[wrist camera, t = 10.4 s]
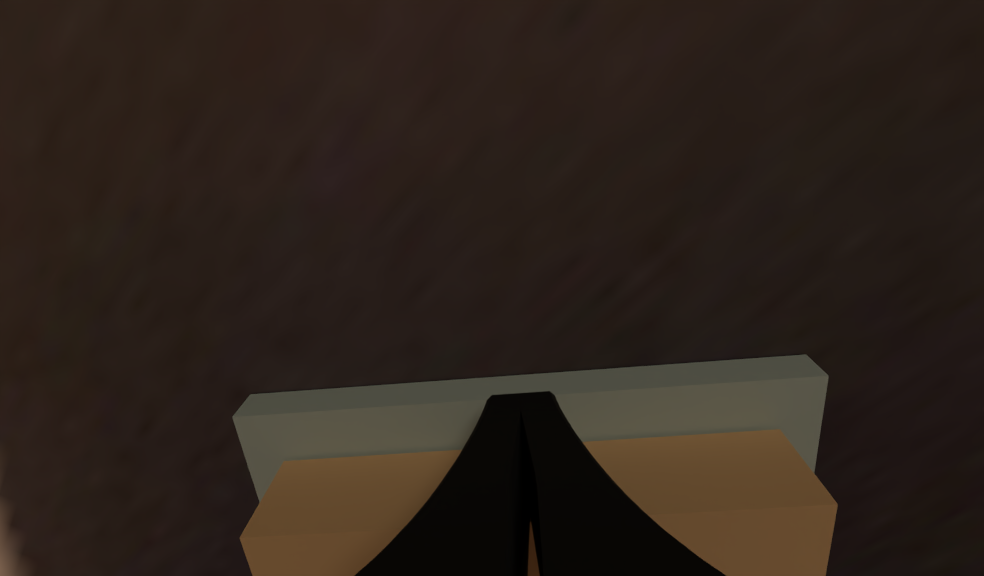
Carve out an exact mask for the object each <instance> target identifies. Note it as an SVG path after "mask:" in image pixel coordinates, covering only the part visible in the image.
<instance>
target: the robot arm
mask: <svg viewBox="0 0 984 576" xmlns="http://www.w3.org/2000/svg"><path fill="white" fill-rule="evenodd" d="M530 518H531V525H532V531H533V537H534V543H535V550H536V556H537V562H538V568H539V574H540V576H726V575H725V574H723V573H722V572H720V571H719V570H717V569H716V568H714V567H713V566H712V565H710V564H709V563H707V562H706V561H704V560H703V559H701V558H700V557H699V556H697V555H696V554H695V553H693V552H692V551H691V550H690V549H688V548H687V547H686V546H684V545H683V544H682V543H681V542H679V541H678V540H677V539H675V538H674V537H673V536H672V535H670V534H669V533H668V532H667V531H665V530H664V529H663V528H662V527H661V526H659V525H658V524H657V523H656V522H655V521H654V520H653V519H652V518H651V517H649V516H648V515H647V514H646V513H645V512H644V511H643V510H642V509H641V508H640V507H639V506H638V505H637V504H636V503H635V502H634V501H632V500H631V499H630V498H629V497H628V496H627V495H626V494H625V493H624V491H623V490H622V489H621V488H620V487H619V486H618V485H617V484H616V483H615V482H614V481H613V480H612V479H611V477H610V476H609V475H608V474H607V473H606V472H605V470H604V469H603V468H602V467H601V466H600V464H599V463H598V462H597V461H596V460H595V458H594V457H593V456H592V454H591V453H590V452H589V451H588V449H587V448H586V446H585V445H584V444H583V442H582V441H581V440H580V438H579V437H578V435H577V434H576V433H575V431H574V430H573V428H572V427H571V425H570V423H569V422H568V420H567V418H566V417H565V415H564V413H563V412H562V410H561V408H560V406H559V404H558V402H557V400H556V397H555V395H554V394H553V393H551V392H550V391H543V392H528V393H514V394H499V395H491V396H490V397H489V398H488V399H487V401H486V404H485V407H484V409H483V411H482V414H481V416H480V418H479V420H478V422H477V424H476V426H475V428H474V430H473V432H472V434H471V435H470V437H469V439H468V441H467V442H466V444H465V446H464V447H463V449H462V451H461V453H460V454H459V456H458V458H457V459H456V461H455V462H454V464H453V465H452V467H451V468H450V470H449V471H448V472H447V474H446V475H445V477H444V478H443V480H442V481H441V483H440V484H439V486H438V487H437V488H436V490H435V491H434V492H433V494H432V495H431V496H430V498H429V499H428V500H427V501H426V503H425V504H424V505H423V506H422V507H421V509H420V510H419V511H418V512H417V513H416V515H415V516H414V517H413V518H412V519H411V520H410V522H409V523H408V524H407V525H406V526H405V527H404V528H403V529H402V530H401V531H400V532H399V533H398V534H397V535H396V537H395V538H394V539H393V540H392V541H391V542H390V543H389V544H388V545H387V546H386V547H385V548H384V549H383V550H382V551H381V552H380V553H379V554H378V555H377V556H376V557H375V558H374V559H373V560H372V561H370V562H369V563H368V564H367V565H366V566H365V567H364V568H362V569H361V570H360V571H359V572H358V573H357V574H356V575H354V576H528V557H529V533H530Z"/></svg>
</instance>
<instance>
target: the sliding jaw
mask: <svg viewBox="0 0 984 576" xmlns="http://www.w3.org/2000/svg"><path fill="white" fill-rule="evenodd" d="M583 444H584V445H585V446H586V448H587V449H588V451H589V452H590V453H591V454H592V456H593V457H594V458H595V460H596V461H597V462H598V463H599V464H600V466H601V467H602V468H603V469H604V470H605V472H606V473H607V474H608V475H609V476H610V477H611V479H612V480H613V481H614V482H615V483H616V484H617V485H618V486H619V487H620V488H621V489H622V490H623V491H624V493H625V494H626V495H627V496H628V497H629V498H630V499H631V500H632V501H634V502H635V503H636V504H637V505H638V506H639V507H640V508H641V509H642V510H643V511H644V512H645V513H646V514H647V515H648V516H649V517H651V518H652V519H653V520H654V521H655V522H656V523H657V524H658V525H659V526H661V527H662V528H663V529H664V530H665V531H667V532H668V533H669V534H670V535H672V536H673V537H674V538H675V539H677V540H678V541H679V542H681V543H682V544H683V545H684V546H686V547H687V548H688V549H690V550H691V551H692V552H693V553H695V554H696V555H697V556H699V557H700V558H701V559H703V560H704V561H706V562H707V563H709V564H710V565H712V566H713V567H714V568H716V569H717V570H719V571H720V572H722V573H723V574H725V575H726V576H825V575H826V569H827V564H828V558H829V552H830V546H831V540H832V535H833V529H834V523H835V517H836V511H837V506H838V504H837V503H836V501H835V500H834V499H833V498H832V496H831V495H830V494H829V492H828V491H827V490H826V488H825V487H824V486H823V485H822V483H821V482H820V481H819V479H818V478H817V477H816V475H815V474H814V473H813V472H812V470H811V469H810V468H809V466H808V465H807V464H806V462H805V461H804V460H803V459H802V457H801V456H800V455H799V453H798V452H797V451H796V449H795V448H794V447H793V446H792V444H791V443H790V442H789V440H788V439H787V438H786V436H785V435H784V434H783V432H782V431H781V430H780V429H775V430H759V431H744V432H728V433H712V434H697V435H681V436H666V437H650V438H635V439H619V440H604V441H588V442H583ZM461 451H462V450H448V451H432V452H417V453H401V454H386V455H370V456H355V457H339V458H323V459H308V460H292V461H283V463H282V465H281V467H280V468H279V470H278V472H277V474H276V475H275V477H274V479H273V481H272V482H271V484H270V486H269V488H268V489H267V491H266V493H265V495H264V496H263V498H262V500H261V502H260V503H259V505H258V507H257V508H256V510H255V512H254V514H253V515H252V517H251V519H250V521H249V522H248V524H247V526H246V528H245V529H244V531H243V533H242V535H241V536H240V540H241V543H242V546H243V549H244V552H245V555H246V558H247V560H248V563H249V566H250V569H251V572H252V575H253V576H354V575H356V574H357V573H358V572H359V571H360V570H361V569H362V568H364V567H365V566H366V565H367V564H368V563H369V562H370V561H372V560H373V559H374V558H375V557H376V556H377V555H378V554H379V553H380V552H381V551H382V550H383V549H384V548H385V547H386V546H387V545H388V544H389V543H390V542H391V541H392V540H393V539H394V538H395V537H396V535H397V534H398V533H399V532H400V531H401V530H402V529H403V528H404V527H405V526H406V525H407V524H408V523H409V522H410V520H411V519H412V518H413V517H414V516H415V515H416V513H417V512H418V511H419V510H420V509H421V507H422V506H423V505H424V504H425V503H426V501H427V500H428V499H429V498H430V496H431V495H432V494H433V492H434V491H435V490H436V488H437V487H438V486H439V484H440V483H441V481H442V480H443V478H444V477H445V475H446V474H447V472H448V471H449V470H450V468H451V467H452V465H453V464H454V462H455V461H456V459H457V458H458V456H459V454H460V453H461ZM528 576H540V574H539V568H538V562H537V556H536V550H535V543H534V537H533V531H532V525H531V518H530V533H529V557H528Z"/></svg>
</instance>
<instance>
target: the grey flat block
mask: <svg viewBox="0 0 984 576" xmlns="http://www.w3.org/2000/svg"><path fill="white" fill-rule="evenodd" d="M827 383H828V375H827V374H826V373H825V372H824V371H823V370H822V369H821V368H820V367H819V366H818V365H817V364H815V363H814V362H813V361H812V360H811V359H810V358H809V357H808V356H807V355H793V356H779V357H765V358H751V359H737V360H724V361H710V362H696V363H682V364H668V365H654V366H640V367H626V368H612V369H598V370H584V371H570V372H556V373H542V374H528V375H514V376H501V377H487V378H473V379H459V380H445V381H431V382H417V383H403V384H389V385H375V386H361V387H347V388H333V389H319V390H305V391H291V392H278V393H264V394H250V396H249V397H248V398H247V399H246V401H245V402H244V403H243V404H242V406H241V407H240V408H239V409H238V411H237V412H236V413H235V414H234V416H233V417H232V418H233V421H234V424H235V427H236V430H237V433H238V436H239V440H240V443H241V446H242V449H243V452H244V455H245V458H246V461H247V464H248V468H249V471H250V474H251V477H252V480H253V483H254V486H255V489H256V492H257V496H258V499H259V502H261V500H262V498H263V496H264V495H265V493H266V491H267V489H268V488H269V486H270V484H271V482H272V481H273V479H274V477H275V475H276V474H277V472H278V470H279V468H280V467H281V465H282V463H283V461H292V460H308V459H323V458H339V457H355V456H370V455H386V454H401V453H417V452H432V451H448V450H462V449H463V447H464V446H465V444H466V442H467V441H468V439H469V437H470V435H471V434H472V432H473V430H474V428H475V426H476V424H477V422H478V420H479V418H480V416H481V414H482V411H483V409H484V407H485V404H486V401H487V399H488V398H489V397H490V396H491V395H499V394H514V393H528V392H543V391H550V392H551V393H553V394H554V395H555V397H556V400H557V402H558V404H559V406H560V408H561V410H562V412H563V413H564V415H565V417H566V418H567V420H568V422H569V423H570V425H571V427H572V428H573V430H574V431H575V433H576V434H577V435H578V437H579V438H580V440H581V441H582V442H588V441H604V440H619V439H635V438H650V437H666V436H681V435H697V434H712V433H728V432H744V431H759V430H775V429H780V430H781V431H782V432H783V434H784V435H785V436H786V438H787V439H788V440H789V442H790V443H791V444H792V446H793V447H794V448H795V449H796V451H797V452H798V453H799V455H800V456H801V457H802V459H803V460H804V461H805V462H806V464H807V465H808V466H809V468H810V469H811V470H812V472H813V473H814V471H815V464H816V457H817V450H818V444H819V437H820V430H821V423H822V417H823V410H824V403H825V396H826V390H827Z"/></svg>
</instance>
